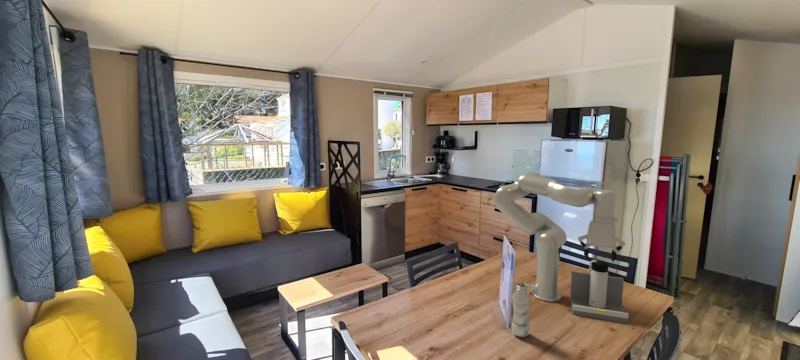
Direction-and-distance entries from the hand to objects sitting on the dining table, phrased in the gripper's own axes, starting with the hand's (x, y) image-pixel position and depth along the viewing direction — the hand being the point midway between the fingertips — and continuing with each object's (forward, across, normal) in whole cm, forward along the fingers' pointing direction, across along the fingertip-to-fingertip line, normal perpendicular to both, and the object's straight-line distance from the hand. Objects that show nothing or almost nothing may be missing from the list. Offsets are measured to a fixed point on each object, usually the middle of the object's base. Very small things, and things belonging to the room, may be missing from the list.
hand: (599, 258), depth 146 cm
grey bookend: (+24, -1, 0) cm, 24 cm away
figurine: (+24, -4, -33) cm, 41 cm away
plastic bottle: (+24, +29, +30) cm, 48 cm away
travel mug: (+22, -1, 0) cm, 22 cm away
